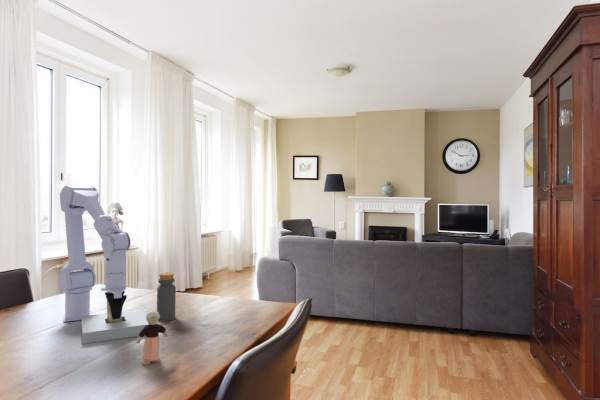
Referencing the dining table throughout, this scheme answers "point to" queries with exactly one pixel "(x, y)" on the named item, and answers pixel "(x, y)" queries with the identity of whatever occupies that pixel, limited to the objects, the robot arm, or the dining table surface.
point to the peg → (109, 317)
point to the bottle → (166, 297)
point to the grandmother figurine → (151, 338)
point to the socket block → (112, 326)
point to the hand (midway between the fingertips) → (115, 316)
